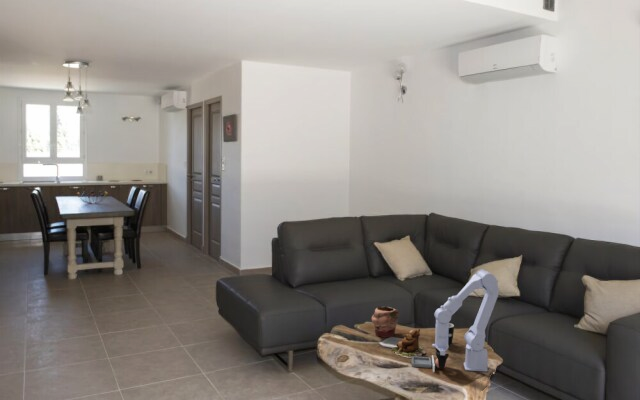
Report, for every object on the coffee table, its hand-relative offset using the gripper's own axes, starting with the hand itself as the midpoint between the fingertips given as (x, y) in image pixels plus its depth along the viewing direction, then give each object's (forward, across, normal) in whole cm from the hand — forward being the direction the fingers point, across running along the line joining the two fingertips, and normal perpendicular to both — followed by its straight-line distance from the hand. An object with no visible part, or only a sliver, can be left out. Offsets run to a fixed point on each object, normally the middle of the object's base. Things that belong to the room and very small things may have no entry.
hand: (441, 365), depth 242 cm
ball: (+1, 0, 0) cm, 1 cm away
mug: (+2, -32, +4) cm, 32 cm away
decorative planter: (+2, -42, -26) cm, 49 cm away
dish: (+1, -4, -8) cm, 9 cm away
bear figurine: (+2, -17, -14) cm, 22 cm away
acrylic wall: (+1, -1, -3) cm, 4 cm away
